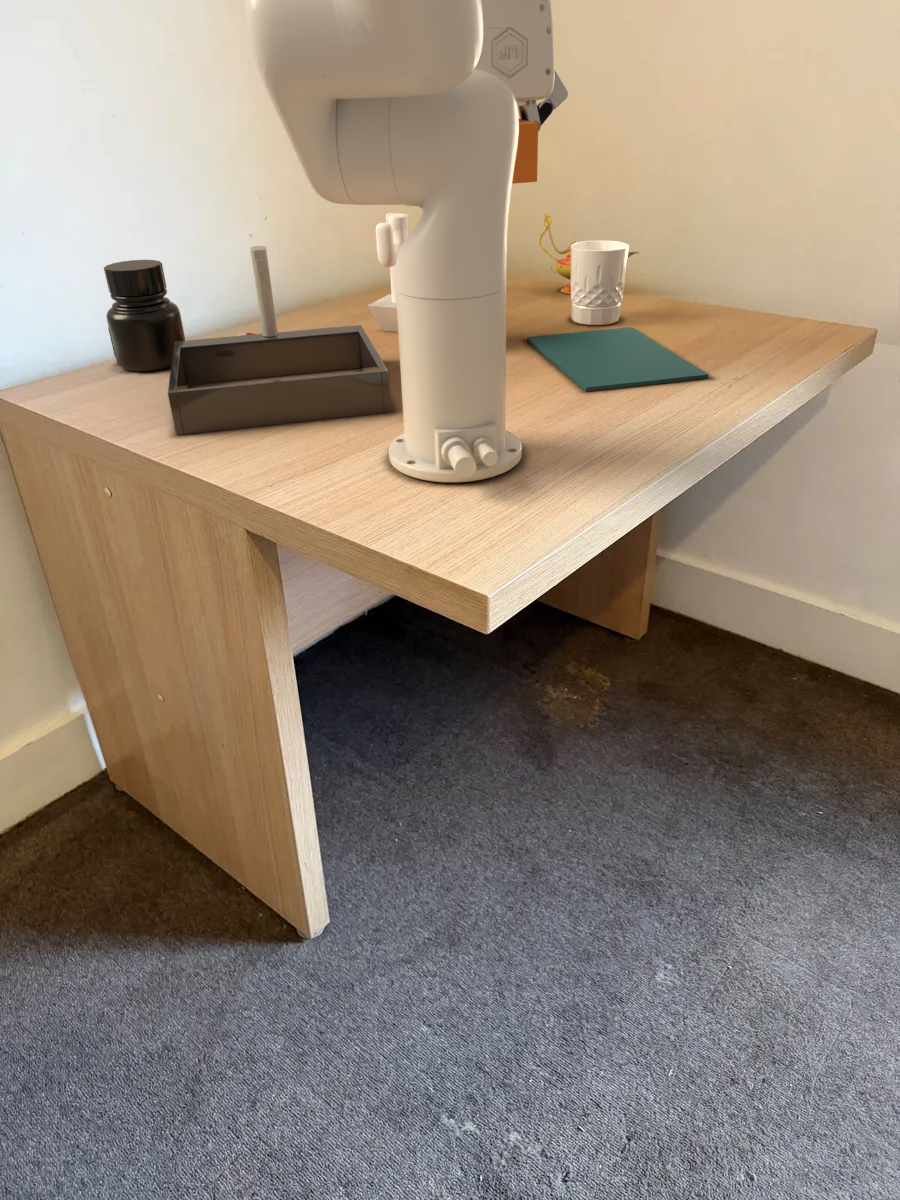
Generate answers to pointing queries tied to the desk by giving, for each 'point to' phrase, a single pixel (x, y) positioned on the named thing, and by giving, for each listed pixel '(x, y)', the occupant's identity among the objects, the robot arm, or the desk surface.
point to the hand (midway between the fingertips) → (500, 173)
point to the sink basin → (275, 373)
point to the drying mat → (614, 359)
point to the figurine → (387, 250)
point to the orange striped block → (526, 153)
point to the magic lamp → (563, 264)
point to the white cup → (597, 281)
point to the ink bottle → (142, 316)
